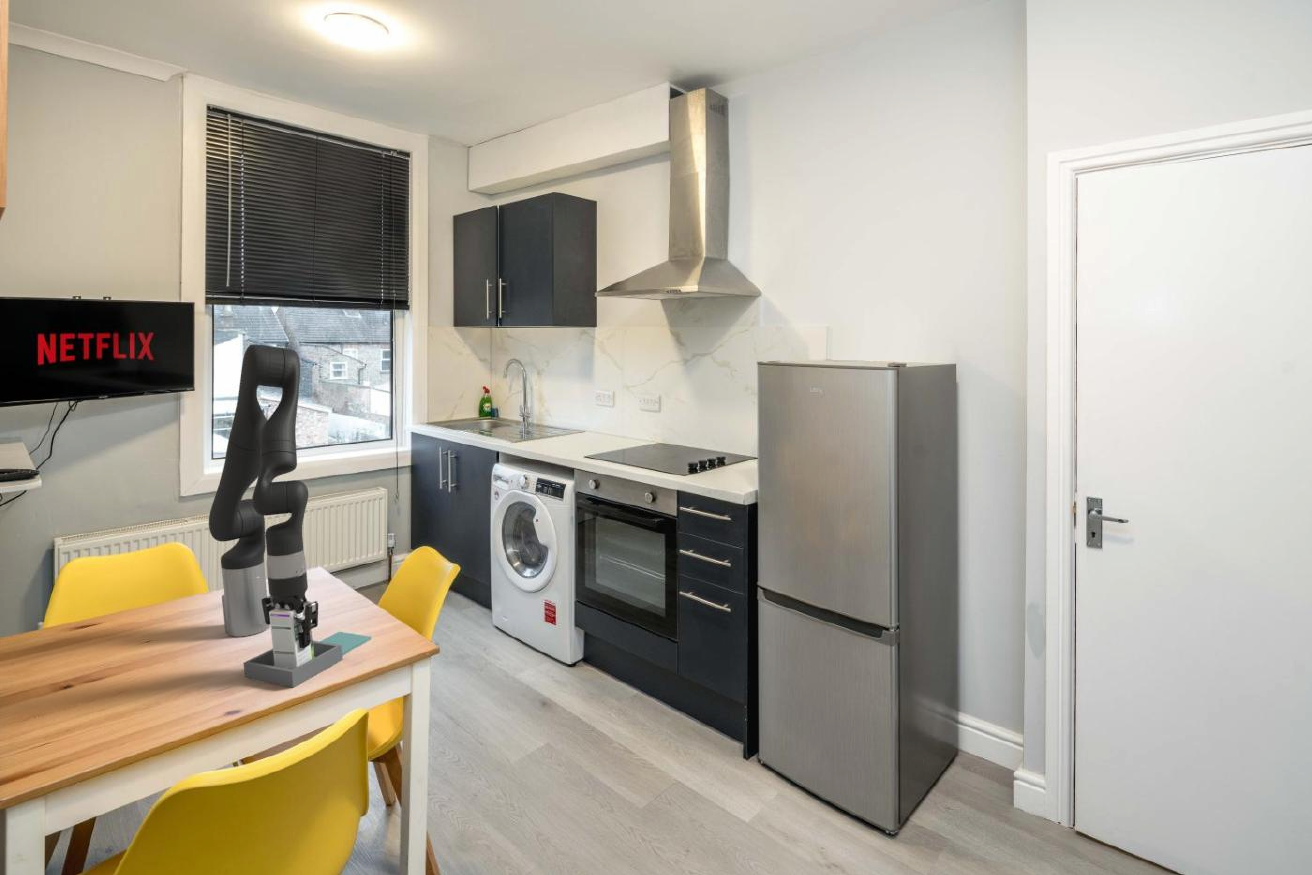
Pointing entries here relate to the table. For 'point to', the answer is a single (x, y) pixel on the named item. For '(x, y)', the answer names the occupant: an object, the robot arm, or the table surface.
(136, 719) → the table surface
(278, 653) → the syrup box
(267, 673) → the bin
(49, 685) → the table surface
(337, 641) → the mat
